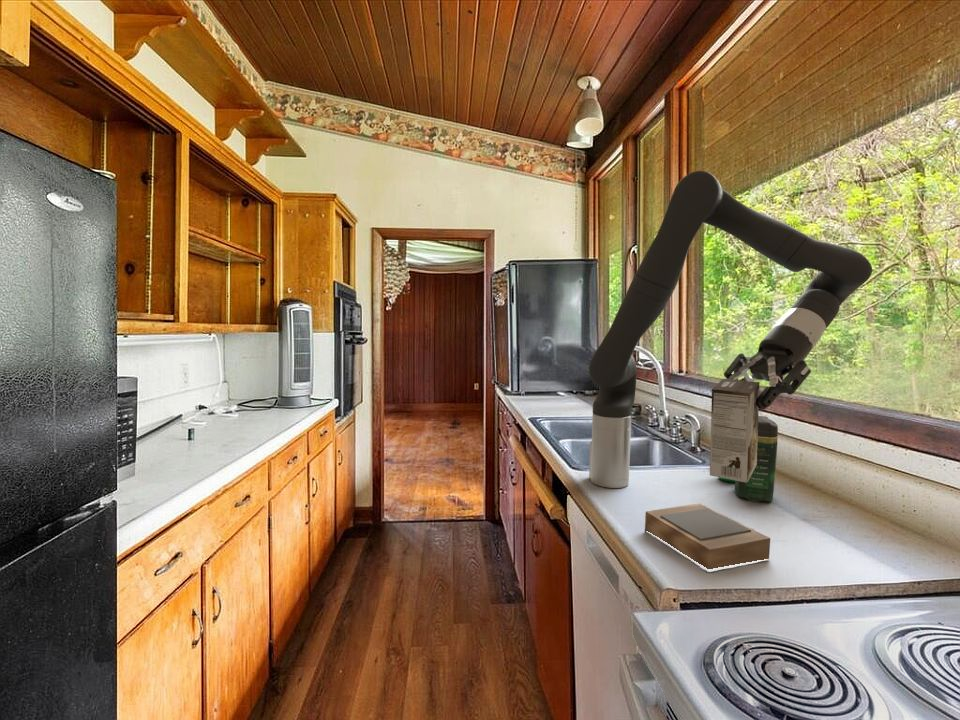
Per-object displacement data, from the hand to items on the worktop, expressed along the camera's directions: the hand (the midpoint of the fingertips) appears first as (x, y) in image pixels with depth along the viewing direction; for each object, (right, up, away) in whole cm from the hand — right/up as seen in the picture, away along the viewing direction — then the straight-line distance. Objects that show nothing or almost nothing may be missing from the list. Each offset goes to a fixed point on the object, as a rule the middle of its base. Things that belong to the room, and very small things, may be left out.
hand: (740, 402), depth 89 cm
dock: (-7, -26, 0) cm, 27 cm away
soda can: (+16, -23, +35) cm, 45 cm away
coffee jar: (+16, -24, +25) cm, 38 cm away
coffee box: (-1, -13, +1) cm, 13 cm away
